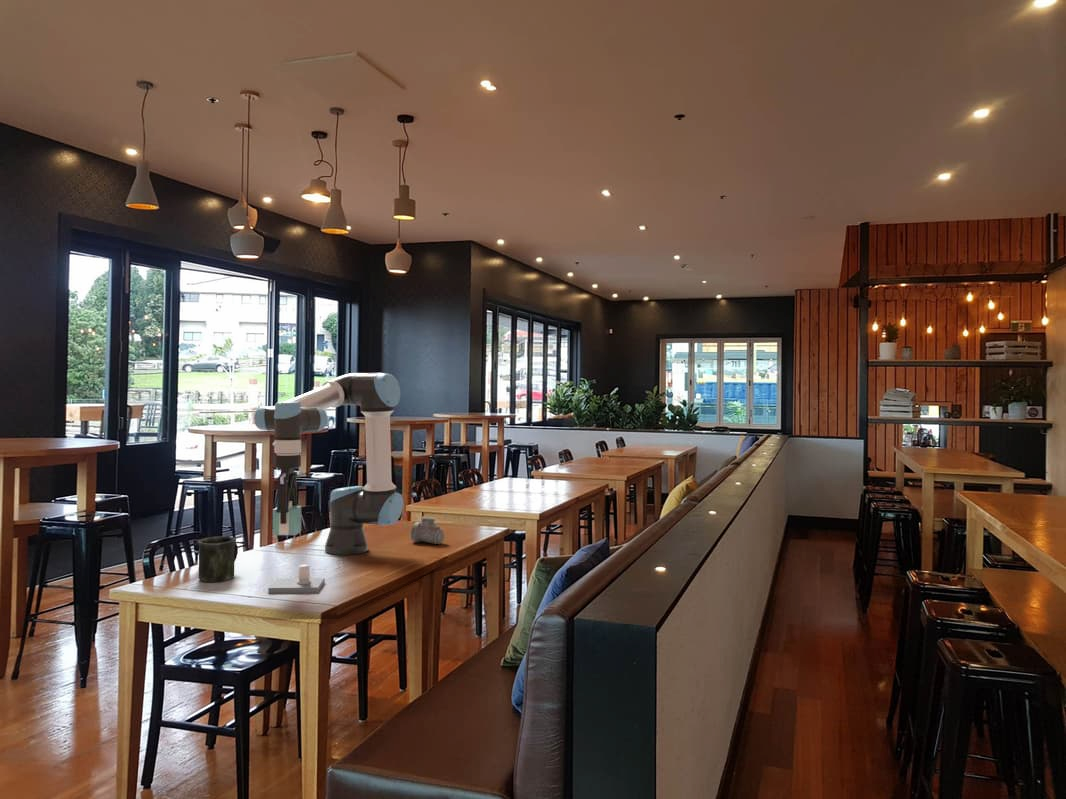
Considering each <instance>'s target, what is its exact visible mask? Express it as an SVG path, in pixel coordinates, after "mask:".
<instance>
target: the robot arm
mask: <svg viewBox="0 0 1066 799" xmlns="http://www.w3.org/2000/svg"><path fill="white" fill-rule="evenodd" d="M400 399H401V388H400V385H399V382H398V380H397V379H396V377H395V376H394V375H392V374H391V373H386V372H385V373H384V372H351V373H346V374H343V375H339V376H337V377H335V378H333V379H330V380H326V381H325V382H324V383H323V384H322V385H321V386H320V387H318V388H316V389H315V388H314V389H313V390H310V391H308V392H305V393H302V394H301V395H298V396H296V397H293V398H291V399H288V400H285V401H277V402H276V403H275V404H274V405H271V406H269V405H266V406H260V407H258V408H257V409H256V410H255V412H254V416H253V420H254V425H255V426H256V428H257V429H259V430H261V431H262V430H263V431H268V432H271V431H272V432H274V441H273V442H272V446H273V447H274V452H273V453H274V454H275V455H274V456H273V457H274V458H273V467H274V469H275V468H276V469H280V474H279V475H278V477H277V478H276V479H277V501H276V502H277V503H276V507H277V510H276V513H279V535H278V536H290V535H289V512H288V507H289V501H292V506H299V504H298V491H297V489H298V487H297V484H298V483H297V482H298V481H297V479H298V476H297V475H298V472H297V471H295V469H298V468H300V467H301V465H302V455H301V454H300V453H302V433H317V432H320V431H323V430H324V429H325V428H326V427H327V424H328V415H327V412H326V411H325V410H326V409H329V408H338V407H340V406H360V413H361V414H363V416H364V418H365V419H364V421H365V423H364V424H365V426H364V427H365V454H366V455H365V458H366V459H365V460H366V462H365V463H366V484H365V485H364V486H363V485H362V486H361V485H355V486H346V487H340V488H335V489H333V490H332V491H331V492H330V500H329V504H330V505H329V506H330V507H329V511H330V512H329V514H330V515H329V516H330V518H329V519H330V521H329V522H330V526H329V528H330V529H329V532H328V536H327V538H326V541H325V545H324V553H326V554H329V555H338V556H339V555H341V556H347V555H348V556H349V555H359V554H363V553H365V552H367V551H368V550H369V549H368V548H369V544H368V540H367V537H366V535H365V531H364V524H366V525H367V524H368V525H377V526H392V525H395V524H396V523H397V522H398V520H399V519H400V517H401V515H402V512H403V508H404V499H403V495H402V494H400V493H399V492H397V485H395V484H394V483H393V481H392V450H391V448H392V444H391V442H392V441H391V414H393V413H394V412H395V407H396V406H397V405H398V404H399V403H400Z"/></svg>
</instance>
